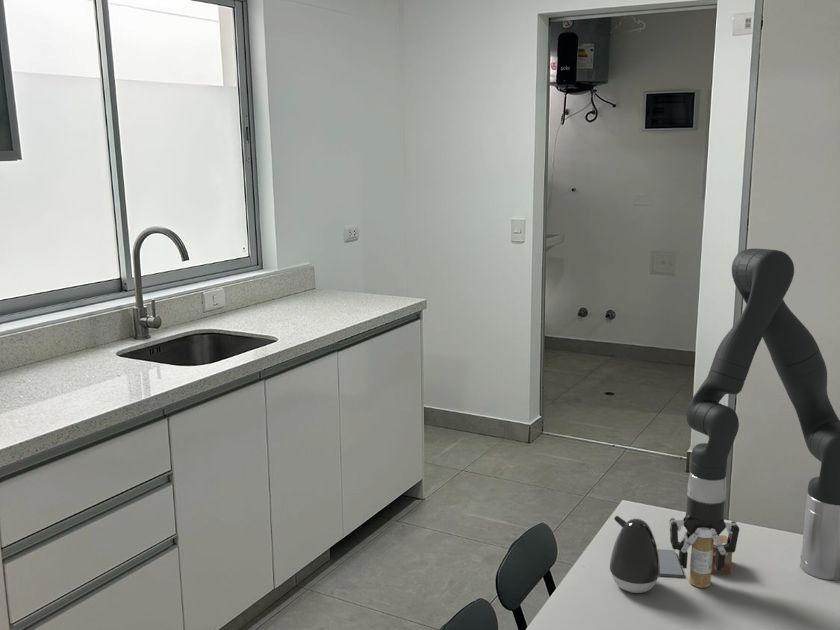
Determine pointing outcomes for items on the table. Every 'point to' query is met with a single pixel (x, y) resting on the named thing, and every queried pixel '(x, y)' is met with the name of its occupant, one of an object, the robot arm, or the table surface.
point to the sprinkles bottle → (702, 559)
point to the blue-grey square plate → (669, 563)
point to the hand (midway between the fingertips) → (700, 567)
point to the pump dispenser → (635, 557)
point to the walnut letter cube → (727, 557)
